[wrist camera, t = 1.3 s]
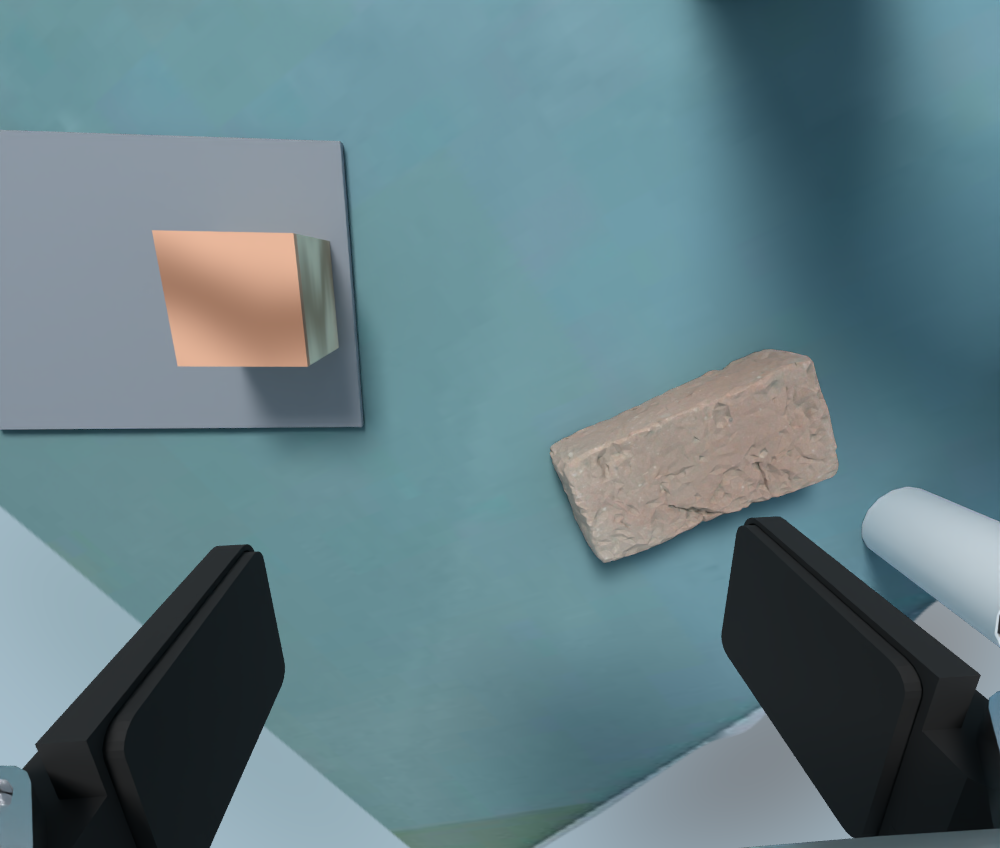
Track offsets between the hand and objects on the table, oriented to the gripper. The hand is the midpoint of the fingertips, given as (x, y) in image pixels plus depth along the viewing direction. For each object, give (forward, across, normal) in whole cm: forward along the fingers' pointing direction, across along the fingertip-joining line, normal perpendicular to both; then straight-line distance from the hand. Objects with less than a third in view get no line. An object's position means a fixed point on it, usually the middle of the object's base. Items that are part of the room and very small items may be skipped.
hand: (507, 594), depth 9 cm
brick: (+23, -13, +6) cm, 27 cm away
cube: (+22, +11, -5) cm, 25 cm away
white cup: (+22, -31, +13) cm, 40 cm away
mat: (+22, +18, -5) cm, 29 cm away
